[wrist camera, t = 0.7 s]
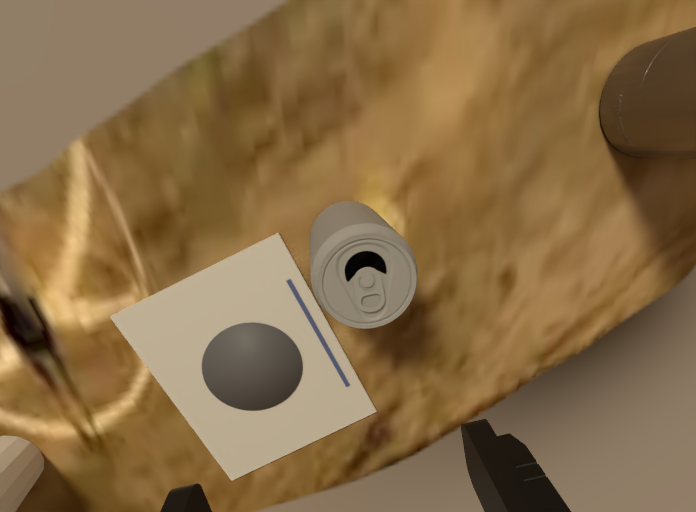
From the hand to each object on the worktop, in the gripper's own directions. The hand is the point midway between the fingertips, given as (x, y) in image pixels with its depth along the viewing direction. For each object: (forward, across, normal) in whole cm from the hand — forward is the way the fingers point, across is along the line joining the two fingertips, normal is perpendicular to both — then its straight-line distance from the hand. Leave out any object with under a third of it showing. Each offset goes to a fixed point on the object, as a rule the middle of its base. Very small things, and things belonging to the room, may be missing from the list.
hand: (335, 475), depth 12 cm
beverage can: (+23, -2, -2) cm, 23 cm away
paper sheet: (+22, +9, +8) cm, 26 cm away
